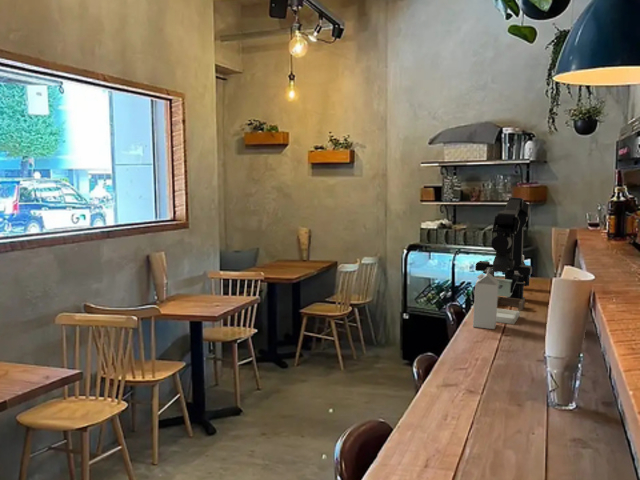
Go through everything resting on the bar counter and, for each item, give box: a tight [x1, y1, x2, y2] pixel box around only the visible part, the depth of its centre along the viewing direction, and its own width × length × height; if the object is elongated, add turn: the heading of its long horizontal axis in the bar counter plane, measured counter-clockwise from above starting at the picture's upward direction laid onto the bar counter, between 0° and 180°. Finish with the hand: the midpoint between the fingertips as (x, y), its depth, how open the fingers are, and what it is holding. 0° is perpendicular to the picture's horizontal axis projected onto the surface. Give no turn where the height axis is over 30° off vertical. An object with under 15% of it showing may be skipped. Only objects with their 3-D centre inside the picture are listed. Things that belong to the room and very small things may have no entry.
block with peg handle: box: [495, 277, 512, 297], centre depth 216 cm, size 8×6×5 cm
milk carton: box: [472, 269, 499, 330], centre depth 205 cm, size 7×7×19 cm
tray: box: [496, 307, 521, 325], centre depth 217 cm, size 12×12×2 cm
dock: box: [497, 296, 526, 312], centre depth 233 cm, size 7×10×3 cm, turn 63°
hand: (502, 291), depth 217 cm, fingers closed on block with peg handle, 6 cm apart
